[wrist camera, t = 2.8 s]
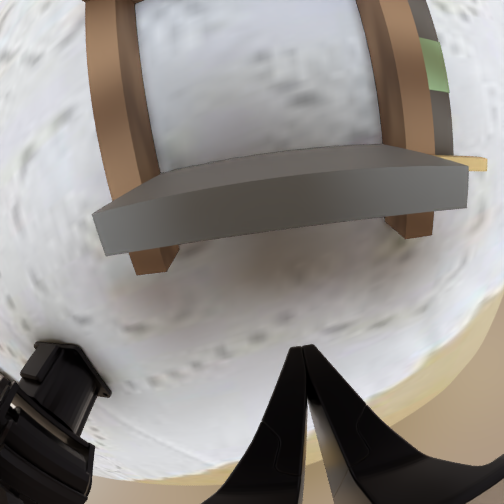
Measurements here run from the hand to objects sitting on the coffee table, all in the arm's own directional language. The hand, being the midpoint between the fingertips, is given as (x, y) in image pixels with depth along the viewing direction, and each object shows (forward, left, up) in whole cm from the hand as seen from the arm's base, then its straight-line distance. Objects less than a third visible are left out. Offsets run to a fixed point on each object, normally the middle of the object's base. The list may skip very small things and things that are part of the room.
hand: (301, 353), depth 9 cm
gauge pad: (+6, -3, -5) cm, 8 cm away
